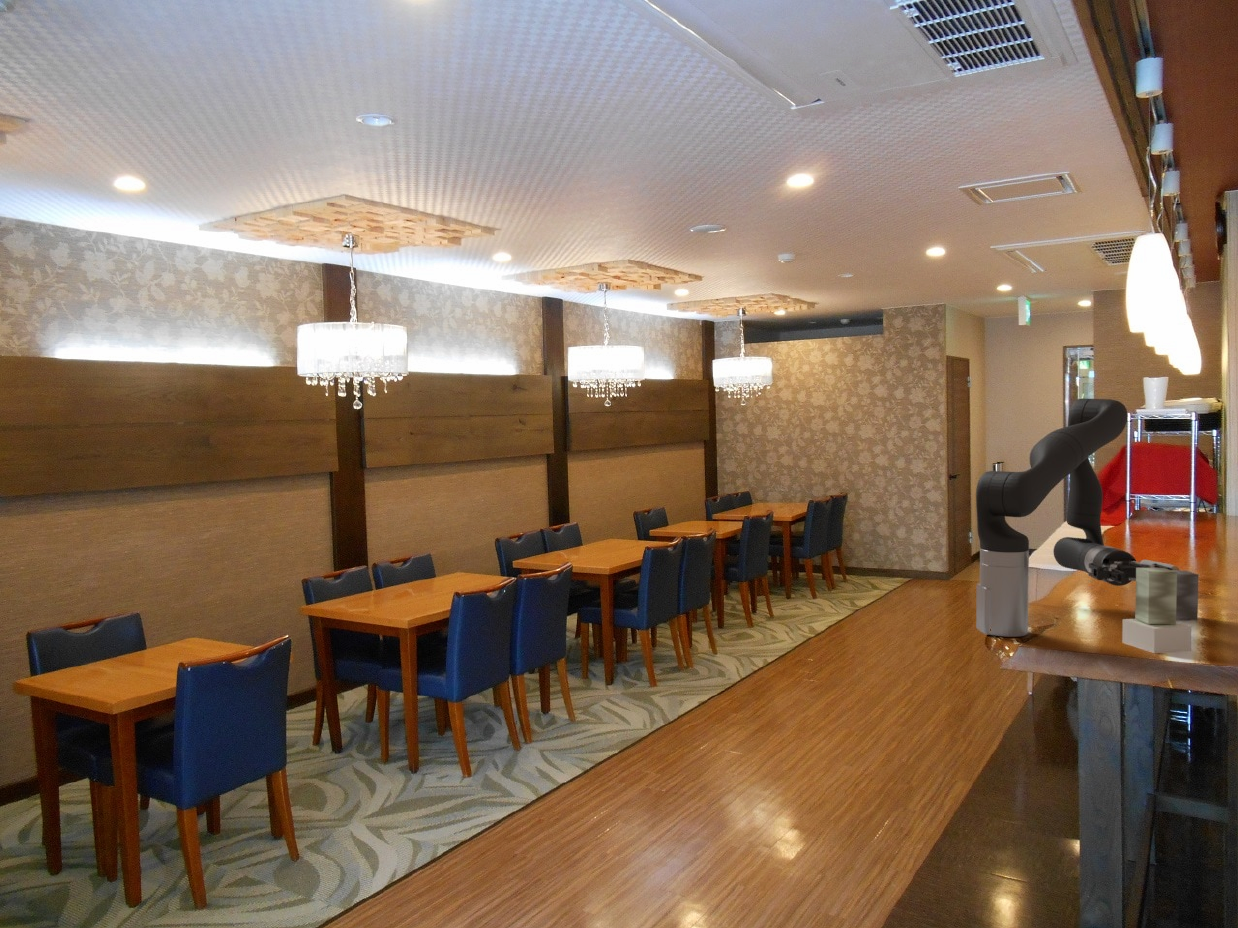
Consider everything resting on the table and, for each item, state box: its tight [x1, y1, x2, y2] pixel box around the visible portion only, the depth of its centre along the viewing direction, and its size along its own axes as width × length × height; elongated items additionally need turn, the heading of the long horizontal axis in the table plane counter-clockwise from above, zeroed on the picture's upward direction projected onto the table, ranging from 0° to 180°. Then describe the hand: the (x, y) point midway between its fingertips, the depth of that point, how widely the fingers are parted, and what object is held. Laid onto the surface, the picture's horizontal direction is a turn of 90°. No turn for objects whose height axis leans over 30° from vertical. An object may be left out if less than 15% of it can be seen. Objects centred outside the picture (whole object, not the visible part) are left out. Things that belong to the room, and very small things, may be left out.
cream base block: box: [1121, 618, 1193, 654], centre depth 169 cm, size 8×8×5 cm
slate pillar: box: [1172, 570, 1199, 621], centre depth 193 cm, size 5×5×10 cm
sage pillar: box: [1134, 568, 1177, 624], centre depth 169 cm, size 5×5×10 cm
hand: (1146, 578), depth 173 cm, fingers open, 8 cm apart
